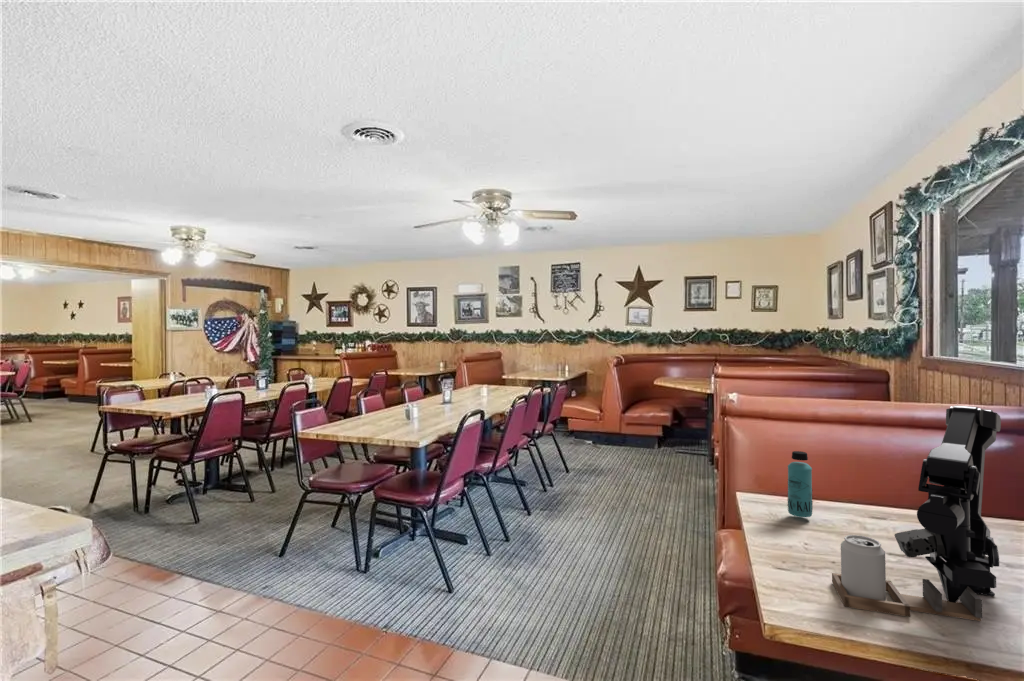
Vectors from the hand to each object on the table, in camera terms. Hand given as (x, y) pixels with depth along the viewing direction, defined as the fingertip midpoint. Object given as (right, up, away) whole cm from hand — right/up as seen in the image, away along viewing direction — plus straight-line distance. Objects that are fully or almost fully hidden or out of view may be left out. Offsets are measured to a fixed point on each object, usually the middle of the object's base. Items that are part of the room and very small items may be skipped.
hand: (951, 601), depth 95 cm
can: (-13, -3, +6) cm, 14 cm away
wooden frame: (-7, -2, +3) cm, 8 cm away
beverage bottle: (0, -3, +51) cm, 51 cm away
